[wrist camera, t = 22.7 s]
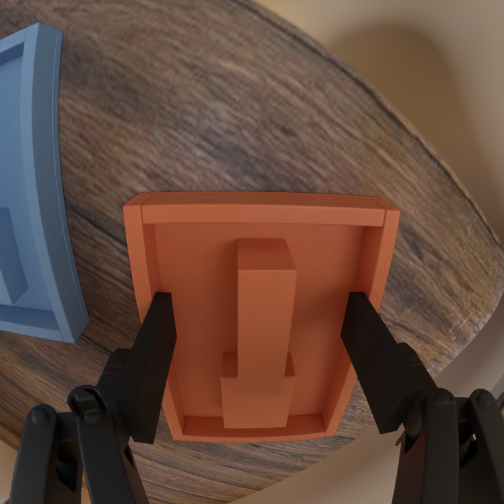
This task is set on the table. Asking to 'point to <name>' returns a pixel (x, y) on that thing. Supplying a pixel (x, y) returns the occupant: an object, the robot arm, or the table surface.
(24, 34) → the blue tray
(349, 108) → the table surface
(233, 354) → the red offset step block
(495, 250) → the table surface
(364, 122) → the table surface
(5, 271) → the blue stepped block
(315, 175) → the table surface
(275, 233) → the red tray
